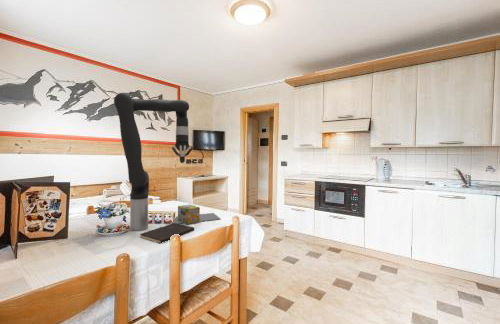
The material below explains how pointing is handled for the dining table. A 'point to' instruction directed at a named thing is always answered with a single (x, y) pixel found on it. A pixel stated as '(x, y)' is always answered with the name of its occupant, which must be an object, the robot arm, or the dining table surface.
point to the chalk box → (188, 214)
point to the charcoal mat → (201, 218)
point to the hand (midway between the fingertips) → (182, 162)
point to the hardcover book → (166, 232)
